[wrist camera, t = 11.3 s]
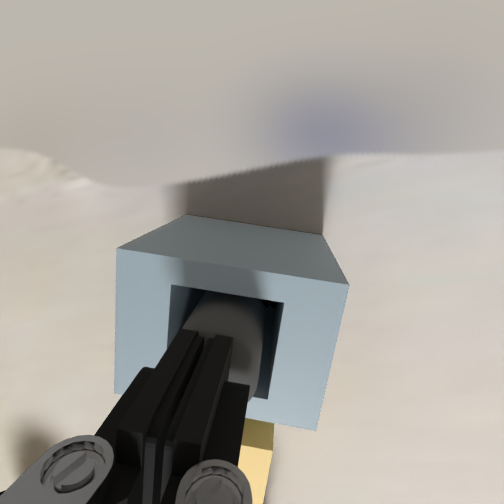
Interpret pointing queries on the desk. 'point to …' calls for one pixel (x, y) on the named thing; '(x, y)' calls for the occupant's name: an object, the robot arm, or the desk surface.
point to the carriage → (256, 455)
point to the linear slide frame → (238, 283)
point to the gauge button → (233, 331)
